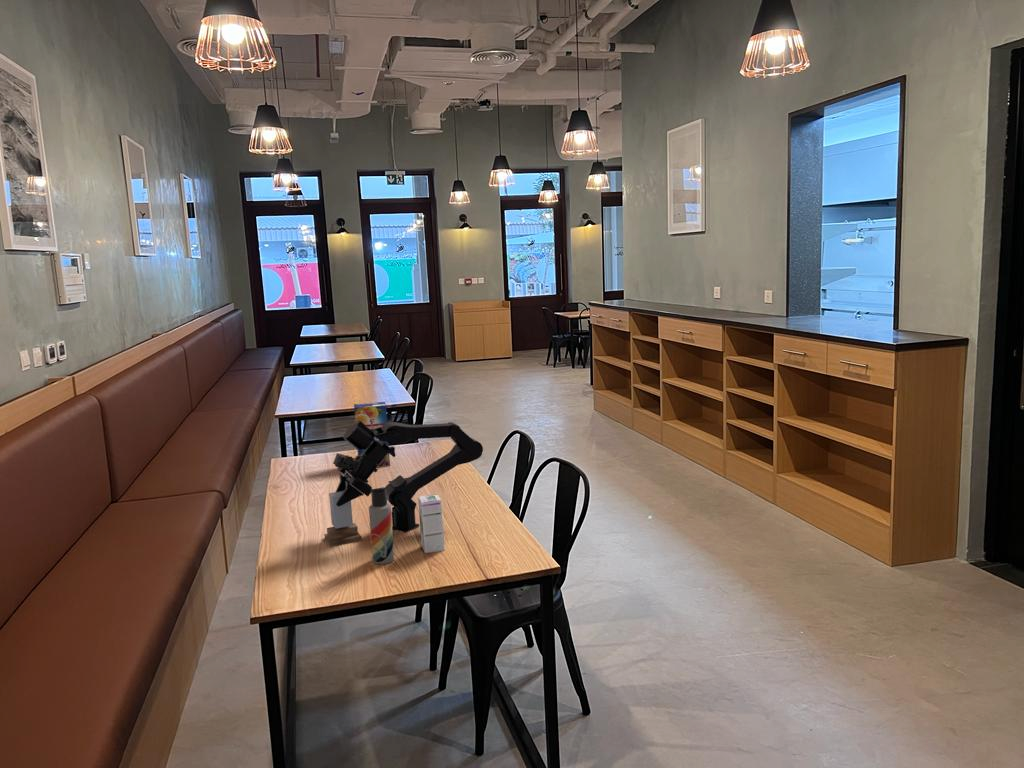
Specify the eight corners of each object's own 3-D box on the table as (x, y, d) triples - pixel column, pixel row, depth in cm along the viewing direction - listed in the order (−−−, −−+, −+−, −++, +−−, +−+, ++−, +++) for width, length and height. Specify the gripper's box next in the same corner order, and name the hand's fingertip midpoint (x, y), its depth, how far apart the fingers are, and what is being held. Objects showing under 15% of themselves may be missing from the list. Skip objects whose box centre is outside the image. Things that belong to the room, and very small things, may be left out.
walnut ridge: (355, 532, 219) (354, 520, 219) (361, 540, 213) (360, 528, 212) (324, 538, 215) (323, 526, 215) (329, 546, 209) (328, 534, 209)
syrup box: (445, 550, 203) (442, 499, 201) (423, 553, 201) (420, 502, 199) (441, 543, 208) (438, 493, 206) (420, 546, 207) (417, 496, 204)
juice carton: (358, 468, 287) (354, 407, 283) (358, 463, 294) (353, 404, 290) (390, 465, 290) (386, 405, 286) (388, 460, 297) (384, 401, 293)
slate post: (348, 520, 217) (346, 490, 215) (352, 525, 212) (350, 495, 211) (331, 523, 215) (329, 493, 213) (335, 528, 210) (332, 498, 209)
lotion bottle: (375, 566, 194) (370, 492, 191) (370, 558, 199) (365, 486, 196) (396, 562, 196) (391, 489, 193) (391, 554, 202) (386, 483, 198)
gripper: (342, 436, 220) (307, 478, 217) (357, 450, 203) (319, 496, 200) (370, 458, 224) (336, 500, 221) (387, 473, 207) (351, 518, 205)
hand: (335, 503), depth 212 cm, fingers closed on slate post, 5 cm apart
